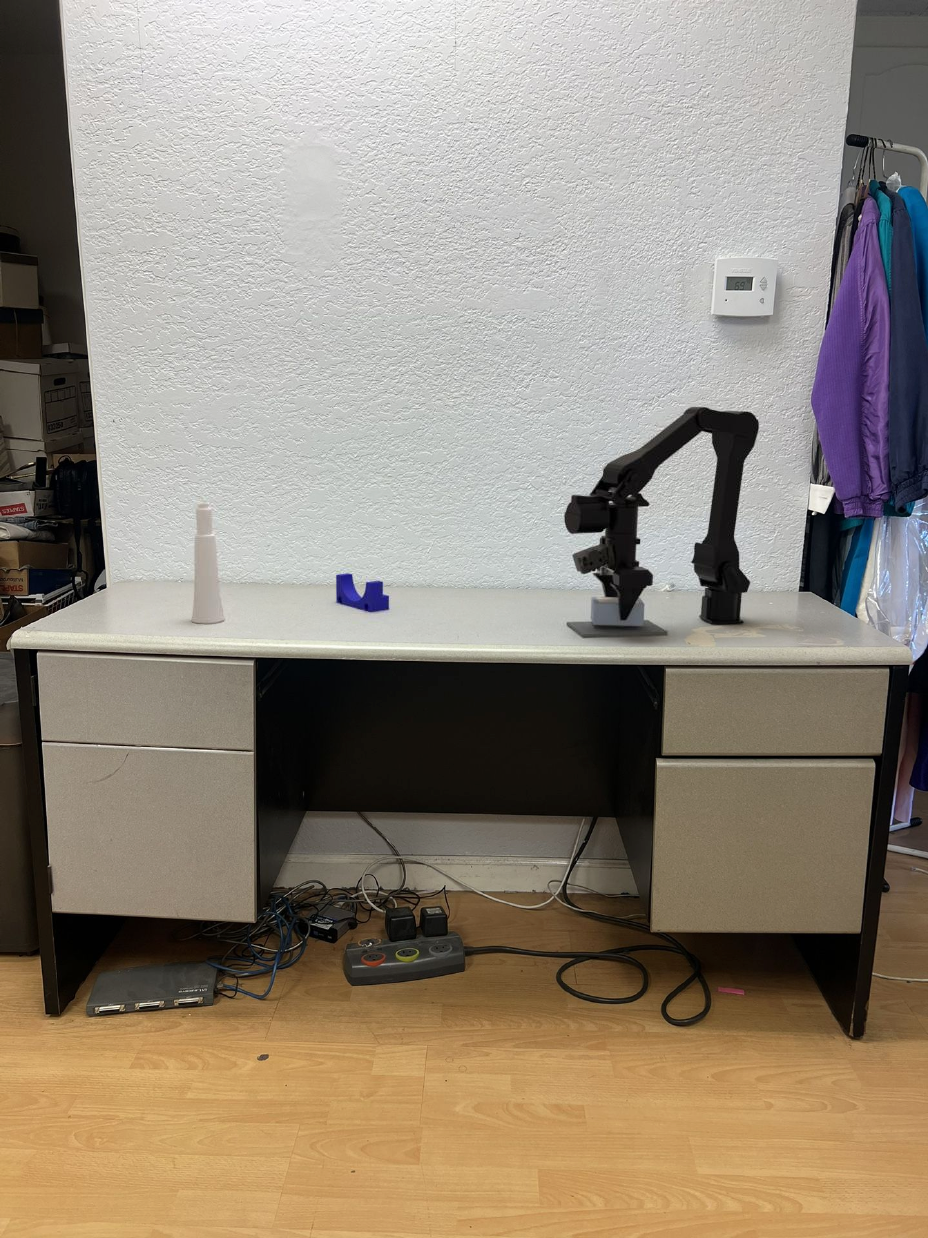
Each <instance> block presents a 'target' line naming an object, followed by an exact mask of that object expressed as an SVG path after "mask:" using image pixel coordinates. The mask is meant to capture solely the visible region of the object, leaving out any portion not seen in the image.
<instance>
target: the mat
mask: <svg viewBox="0 0 928 1238" xmlns="http://www.w3.org/2000/svg"><path fill="white" fill-rule="evenodd" d="M566 626H567V627H568V628H570V629H571V630H572V631H574V632H575V633H576V634H577V635H579V636H580V637H581V638H605V637H606V638H610V637H612V638H613V637H614V636H615V637H644V636H645V637H647V636H649V637H650V636H668V633H669V632H668V630H665V629H664V628H663V627H660V626H659V625H657V624H655V623H654V622H652V621H650V620H649V619H644V624H643V626H623V625H593V622H592V620H590V621H587V620H586V621H566ZM615 637H614V638H615Z"/></svg>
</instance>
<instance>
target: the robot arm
mask: <svg viewBox="0 0 928 1238" xmlns="http://www.w3.org/2000/svg"><path fill="white" fill-rule="evenodd" d="M759 429H760V422H759V419H757V417H756V415H755V414H754V413H752V412H750V411H745V410H743V411H742V410H740V411H738V410H723V411H721V410H717V409H712V408H709V407H706V406H690V407H688V408H687V409H686V410H685V411H684V412H683V414H681V415H680V416H679V417H678V418H676V420H674V421H672V422H671V423H670V424H669V425H667V426H666V427H665V428H664V429H663V430H661V431H660V432H658V433H657V434H656V435H655V436H654V437H653V438H651V439H650V440H649V441H648V442H646V443H645V444H644V445H643V446H641V447H640V448H638V449H636V450H633V451H631V452H628V453H626V454H623V455H621V456H619V457H617V458H616V459H614V460H611V461H610V462H609V463H607V464H606V465H605V466H604V468H603V470H602V476H601V477H600V479H599V480H598V481H597V483H596V485H595V486H594V488H593V489H592V491H591V492H590V493H589V494H588V495H582V494H572V495H571V498H570V499H571V500H570V502H569V503H568V505H567V507H566V510H565V512H564V515H563V516H564V517H563V519H564V524H565V528H566V530H567V532H568V533H570V534H572V535H575V534H576V535H577V534H580V535H581V534H598V533H603V532H604V535H601V536H600V537H599V544H597V545H594V546H590V547H587V548H585V549H583V550H579V551H578V552H574V553H573V554H572V559H573V561H574V562H573V563H574V565H575V569H576V572H578V573H580V574H581V575H585V574H586V575H587V574H589V573H591V572H592V575H593V577H595V579H597V580H598V581H599V582H600V583H601V586H602V591H603V595H604V596H603V597H618V605H619V615H620V620H627V618H628V616H629V614H630V613H631V611H632V609H633V607H634V605H635V603H636V601H637V600H638V598H640V596H641V594H642V593H643V591H644V590H645V589H646V588H647V587H652V586H653V585H654V583H653V582H654V581H653V580H654V574H653V573H652V571H650V570H649V569H647V568H645V567H643V566H640V561H639V560H637V558H636V557H637V545H641V538H639V537H638V522H639V521H638V520H639V519H638V518H639V508H640V507H643V508H644V507H649V506H650V501H648V499H645V498H644V497H643V494H642V493H640V492H642V491H643V489H644V488H645V487H646V485H648V483H650V481H651V480H652V479H653V477H654V474H655V472H656V470H657V469H658V468H659V467H660V466H661V465H663V463H664V462H666V461H667V460H669V458H670V457H672V456H673V455H675V454H676V453H677V452H678V451H679V450H681V449H683V447H685V446H686V445H687V444H688V443H690V442H691V441H692V440H694V439H695V438H696V437H697V436H698V435H700V434H701V433H703V432H704V433H707V434H711V445H712V447H713V450H714V453H715V456H716V467H715V473H714V481H713V488H712V489H713V490H712V498H711V506H710V513H709V520H708V527H707V533H706V536H705V537H704V539H703V540H702V542H698V541H697V542H695V543H694V545H693V551H694V552H693V557H692V560H691V564H693V571H694V573H695V574H696V576H697V577H698V580H699V584H700V587H702V588H703V587H704V595H702V597H701V606H700V607H701V608H700V614H699V615H698V616H699V618H700V619H702V620H704V621H706V622H708V623H710V624H711V625H720V624H721V625H727V624H744V622H745V621H744V620H743V619H742V618H741V609H742V594H743V593H744V594H745V593H748V590H749V588H750V585H751V581H750V580H749V578H748V577H747V576H746V575H745V573H744V572H743V570H741V569H740V551H739V548H738V545H737V542H736V540H735V539H736V538H735V533H736V525H737V518H738V510H739V502H740V496H741V487H742V481H743V473H744V465H745V461H746V459H747V458H748V456H749V454H750V453H751V452H752V450H753V449H754V447H755V444H756V442H757V437H758V433H759Z"/></svg>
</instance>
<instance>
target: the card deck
mask: <svg viewBox="0 0 928 1238" xmlns="http://www.w3.org/2000/svg"><path fill="white" fill-rule="evenodd" d="M590 599H591V601H590V621H592V622H593V625H623V626H643V624H644V620H645V603H644V602H643V600H642V599H641V597H639V598H638V600H637V601H636V603H635V605H634V607H633V609H632V611H631V613H630V614H629V616H628V618H627V620H620V615H619V605H618V597H605V596H591V597H590Z"/></svg>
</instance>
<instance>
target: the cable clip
mask: <svg viewBox="0 0 928 1238" xmlns="http://www.w3.org/2000/svg"><path fill="white" fill-rule="evenodd" d="M353 575H354V574H353V573H349V572H348V573H347V572H346V573H338V574H336V575H335V588H336V589H335V591H336V592H335V594H336V595H335V596H336V597H335V599H336V600H335V602H336V603H337V604H340V605H343V606H346V607H351V608H354V609H357V610H361V611H364V612H368V613H375V612H376V613H377V612H383V611H389V610H390V595H388V594H384V581H382V580H374V581H373V580H372V581H366V582H365V588H364V593H363V595H362V596H361V595H360V594H359V593H358V591H357V589H356V586H355V584H354V577H353Z"/></svg>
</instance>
